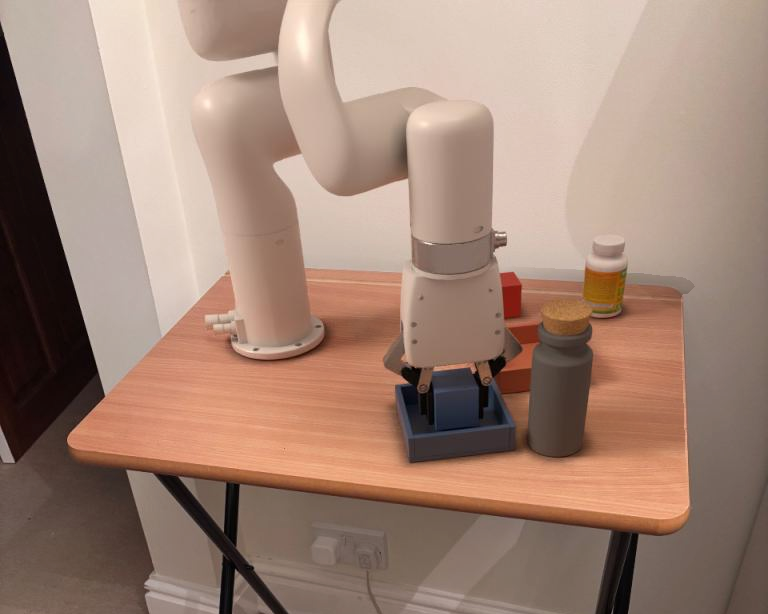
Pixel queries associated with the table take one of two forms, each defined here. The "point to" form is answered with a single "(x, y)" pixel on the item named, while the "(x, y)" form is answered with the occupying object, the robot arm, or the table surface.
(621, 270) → the supplement bottle
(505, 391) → the orange bin
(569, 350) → the bottle
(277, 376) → the table surface
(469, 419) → the blue block
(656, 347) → the table surface
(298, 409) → the table surface
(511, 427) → the blue bin
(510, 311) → the red block
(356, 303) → the table surface
